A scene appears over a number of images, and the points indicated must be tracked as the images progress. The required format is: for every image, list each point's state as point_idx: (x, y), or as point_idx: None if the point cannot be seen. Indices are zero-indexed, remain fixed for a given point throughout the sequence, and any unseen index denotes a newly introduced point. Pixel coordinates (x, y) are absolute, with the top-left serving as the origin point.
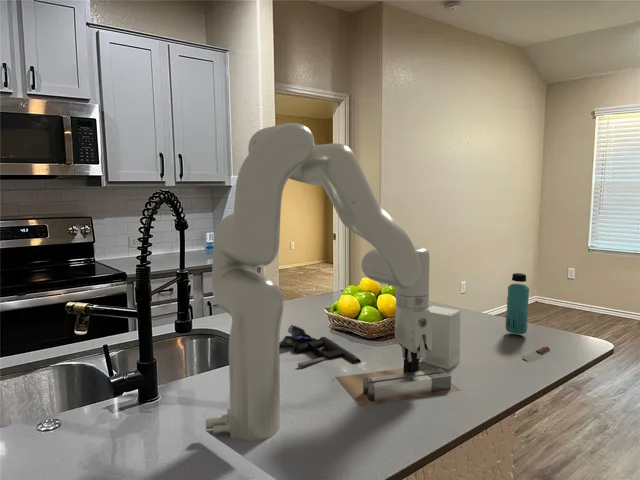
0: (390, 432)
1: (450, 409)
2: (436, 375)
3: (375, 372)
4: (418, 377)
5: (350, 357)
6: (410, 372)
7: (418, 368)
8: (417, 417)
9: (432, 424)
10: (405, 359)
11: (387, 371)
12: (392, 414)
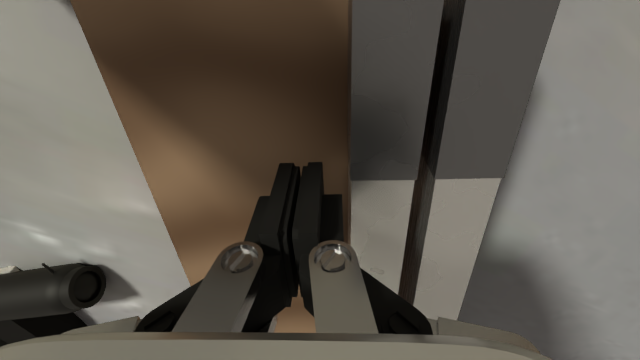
0: (564, 325)
1: (600, 83)
2: (477, 121)
3: (187, 266)
4: (439, 237)
5: (58, 314)
6: (355, 246)
7: (320, 188)
8: (550, 239)
9: (629, 217)
10: (286, 302)
11: (177, 223)
12: (482, 290)
